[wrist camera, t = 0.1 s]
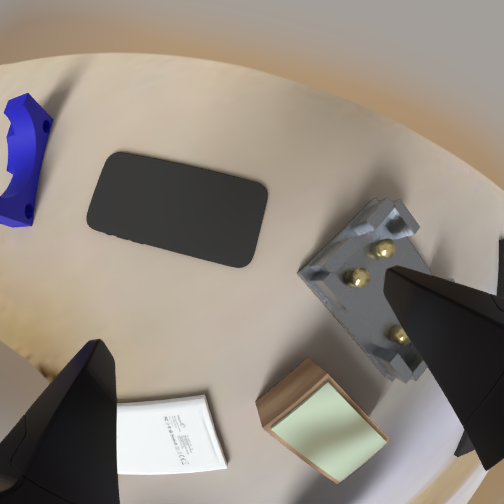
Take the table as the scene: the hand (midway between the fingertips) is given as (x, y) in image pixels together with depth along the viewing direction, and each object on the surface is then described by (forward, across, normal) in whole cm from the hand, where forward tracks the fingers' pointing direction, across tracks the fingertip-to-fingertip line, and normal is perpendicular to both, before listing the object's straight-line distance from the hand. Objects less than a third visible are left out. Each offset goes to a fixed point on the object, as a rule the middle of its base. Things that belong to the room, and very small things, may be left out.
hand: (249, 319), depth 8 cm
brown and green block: (+6, -4, +19) cm, 20 cm away
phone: (+17, +3, +1) cm, 18 cm away
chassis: (+11, -13, +11) cm, 20 cm away
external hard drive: (+7, +11, +18) cm, 22 cm away
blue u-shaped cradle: (+22, +19, -6) cm, 30 cm away
